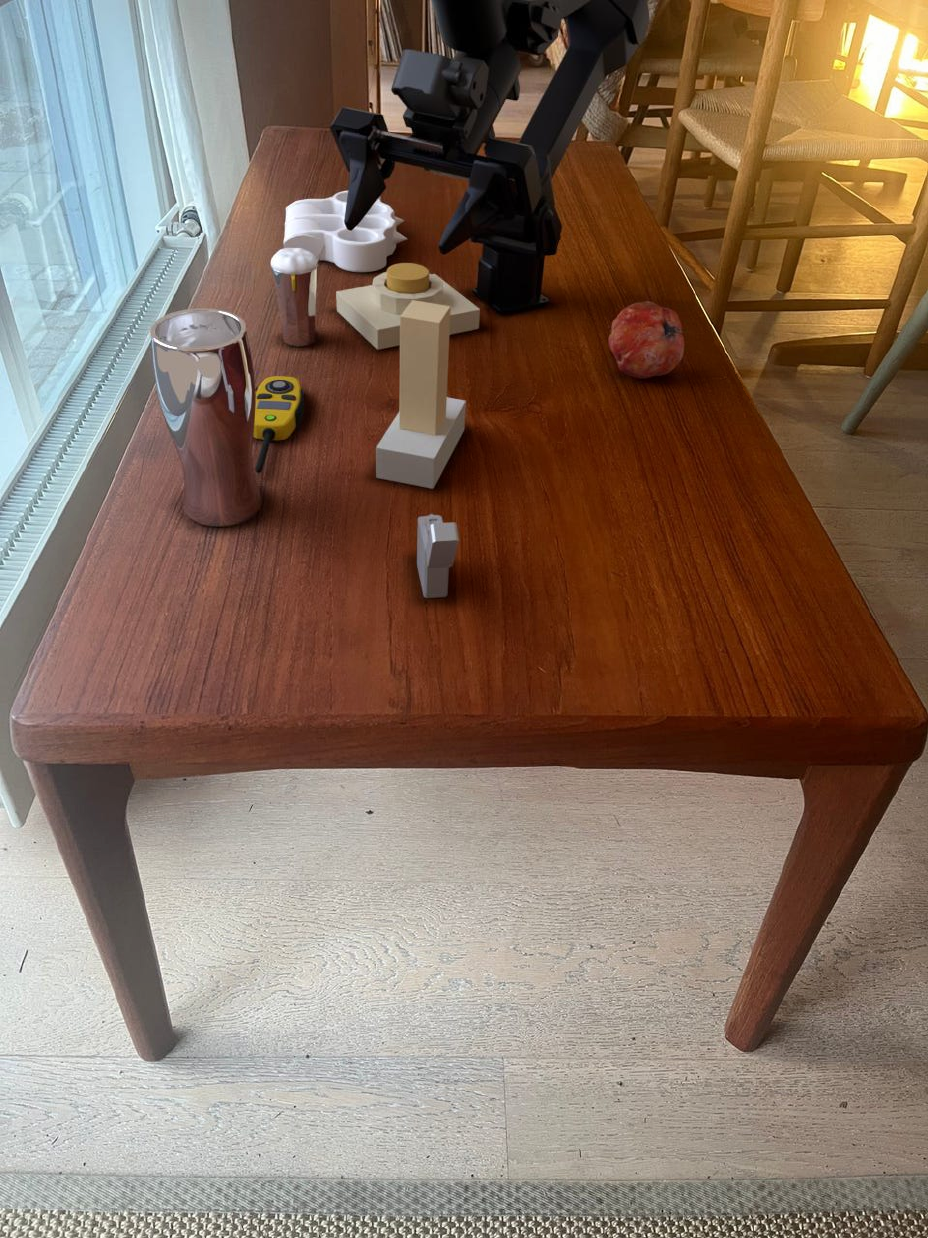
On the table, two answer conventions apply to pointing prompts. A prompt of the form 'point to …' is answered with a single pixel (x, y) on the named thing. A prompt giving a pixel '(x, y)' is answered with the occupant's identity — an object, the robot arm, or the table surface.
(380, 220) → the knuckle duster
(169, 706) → the table surface
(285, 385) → the remote control
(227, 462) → the beer glass
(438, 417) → the stamp
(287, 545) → the table surface
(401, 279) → the bell button
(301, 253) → the milkshake
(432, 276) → the bell stand
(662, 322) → the pomegranate
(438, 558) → the lighter
